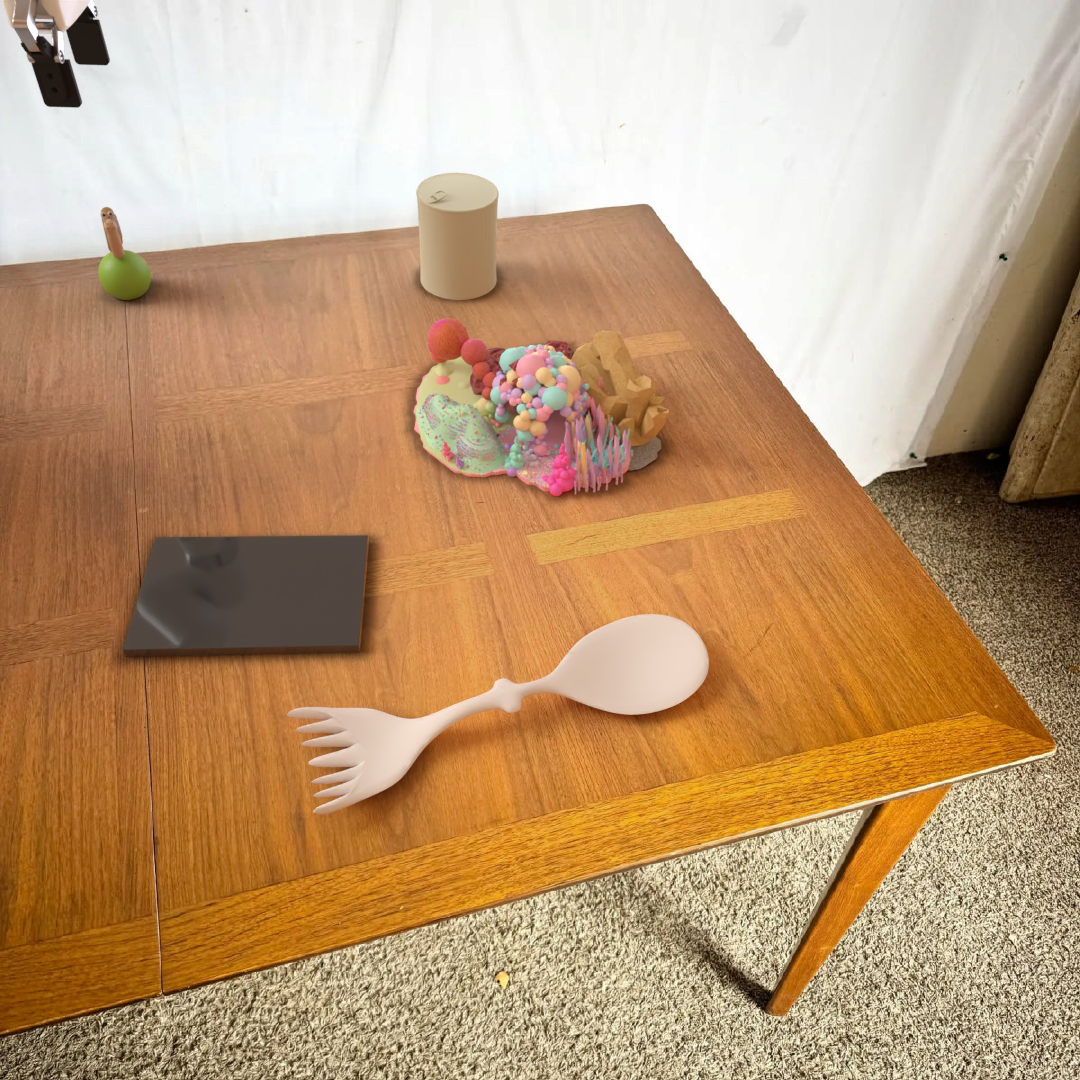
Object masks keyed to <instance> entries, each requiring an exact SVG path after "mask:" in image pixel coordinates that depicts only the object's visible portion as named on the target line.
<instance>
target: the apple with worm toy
mask: <svg viewBox="0 0 1080 1080" xmlns="http://www.w3.org/2000/svg"><path fill="white" fill-rule="evenodd" d="M100 218H101V223H102V226H103V232H104V236H105V239H106V244H107V249H108V250H109V253H107V254H106V255H105V256H104V257H102V259H101V260H100V262H99V265H98V269H97V274H98V275H97V276H98V280H99V283H100V285H101V286H102V288H103V289H104V290H105V292H106V293H108V294H109V295H110V296H111V297H113V298H115V299H119V300H123V301H132V300H136V299H138V298H141V297H142V296H143V295H145V294H146V292H147V291H148V290H149V288H150V286H151V282H152V274H151V273H152V272H151V269H150V266H149V265H148V262H146V260H145V259H144V258H143V257H142V256H140V255H139V254H138V253H137V252H134V251H131V250H129V249H128V250H127V249H124V246H123V243H124V240H123V233H122V230H121V227H120V223H119V220H118V217H117V215H116V214H115V211H114V210H113V208H111V207H109V206H104V207H102V208H101V210H100Z"/></svg>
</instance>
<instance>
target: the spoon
mask: <svg viewBox="0 0 1080 1080" xmlns="http://www.w3.org/2000/svg"><path fill="white" fill-rule="evenodd" d="M709 668H710V658H709V652H708V649H707V646H706V645H705V642H704V641H703V639H702V638H701V636H700V634H699V633H698V632H697V630H695V629H694V627H692V626H691V625H690V624H688V623H687V622H686V621H683V620H681V619H679V618H677V617H674V616H671V615H666V614H657V613H647V614H646V613H645V614H636V615H631V616H627V617H623V618H620V619H617V620H615V621H611V622H609V623H607V624H604V625H602V626H599V627H598V628H596V629H594V630H592V631H591V632H589V633H587V634H586V635H584V636H583V637H582V638H580V639H579V640H578V641H576V643H575V644H573V646H572V647H571V648H570V649H569V651H568V652H567V653H566V654H565V656H563V658H562V659H561V661H560V662H559V664H558V665H557V666H556V667H555V668H554V670H552V671H551V672H550V673H549V674H547V675H545V676H543V677H541V678H538V679H535V680H531V681H527V682H522V683H516V682H514V681H512V680H510V679H508V678H507V677H502V678H499V679H496V680H495V681H494V683H493V686H492V688H491V689H489V690H488V691H486V692H484V693H481V694H479V695H476V696H473V697H470V698H467V699H465V700H461V701H459V702H457V703H455V704H451V705H450V706H447V707H445V708H443V709H440V710H439V711H436V712H433V713H430V714H427V715H425V716H421V717H415V718H407V717H401V716H397V715H394V714H391V713H389V712H385V711H382V710H379V709H375V708H368V707H329V706H327V707H325V706H304V707H297V708H294V709H291V710H289V711H288V712H287V714H286V716H287V718H289V719H295V720H296V719H297V720H319V721H316V722H313V723H309V724H306V725H301V726H299V727H297V728H296V729H294V732H297V733H299V734H302V733H303V734H330V735H325V736H321V737H317V738H312V739H309V740H305V741H302V743H301V744H300V746H302V747H306V748H343V749H341V750H340V749H339V750H337V751H334V752H329V753H326V754H323V755H320V756H316V757H314V758H312V759H310V760H309V761H308V763H307V764H308V765H309V766H311V767H315V768H347V769H344V770H340V771H338V772H334V773H330V774H327V775H323V776H320V777H318V778H315V779H313V780H312V781H311V782H310V783H311V784H314V785H328V784H338V783H340V784H338V785H335V786H332V787H329V788H326V789H323V790H320V791H318V792H316V793H314V794H313V796H312V797H314V798H317V799H318V798H333V797H338V798H335V799H332V800H331V801H328V802H326V803H323V804H321V805H319V806H317V807H316V808H315V809H313V813H314V814H315V815H327V814H331V813H335V812H337V811H340V810H342V809H345V808H348V807H350V806H353V805H354V804H356V803H359V802H361V801H363V800H366V799H368V798H370V797H373V796H375V795H377V794H380V793H382V792H383V791H385V790H387V789H389V788H391V787H392V786H394V785H395V784H396V783H398V782H399V781H400V780H401V779H403V777H404V776H405V775H406V774H407V772H408V771H409V770H410V768H411V767H412V766H413V764H414V763H415V762H416V761H417V758H419V756H420V754H421V753H422V752H423V751H424V750H425V748H427V746H429V744H430V743H431V742H432V741H434V740H435V739H436V738H437V737H438V736H439V735H440V734H442V733H443V732H444V731H446V730H447V729H449V728H450V727H452V726H453V725H455V724H457V723H459V722H461V721H463V720H465V719H467V718H469V717H471V716H472V717H473V716H474V715H477V714H481V713H484V712H490V711H495V710H499V711H504V712H505V713H508V714H513V713H517V712H519V711H520V710H521V708H522V702H523V700H524V699H525V698H528V697H530V696H536V695H541V694H549V695H557V696H559V697H560V696H561V697H562V698H563V697H564V698H567V699H570V700H572V701H574V702H577V703H580V704H583V705H585V706H588V707H591V708H594V709H597V710H601V711H605V712H609V713H613V714H618V715H632V716H633V715H645V714H651V713H656V712H660V711H664V710H667V709H669V708H672V707H674V706H675V707H676V706H677V705H679V704H680V703H683V702H685V700H687V699H689V698H690V697H691V696H692V695H693V694H695V692H697V690H699V688H701V686H702V685H703V683H704V681H705V680H706V678H707V676H708V673H709Z"/></svg>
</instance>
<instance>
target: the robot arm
mask: <svg viewBox="0 0 1080 1080" xmlns="http://www.w3.org/2000/svg"><path fill="white" fill-rule="evenodd" d="M1 3H2V7H3V10H4V13H5V16H6V19H7V22H8V24H9V25H10V27H11V28H12V29H13V30H14V31H15V33H16V34H17V36H18V38H19V40H20V47H22V49H23V50H24V52H25V53H26V58H27V60H28V62H29V63H30V64H31V67H32V70H33V73H34V76H35V79H36V82H37V85H38V89H39V92H40V95H41V97H42V101H43V103H44V105H45V106H46V107H49V108H75V109H76V108H80V107H81V105H82V104H83V99H82V97H81V93H80V89H79V86H78V83H77V79H76V75H75V73H74V68H73V66H72V62H71V59H69V58H65V40H64V39H65V38H64V32H66V36H67V39H68V43H69V46H70V49H71V53H72V56H73V60H74V62H75V63H76V64H77V65H81V66H108V65H109V64H110V62H111V59H110V55H109V51H108V47H107V43H106V39H105V36H104V32H103V29H102V25H101V20H100V19H99V10H98V6H97V5H96V3H95V1H94V0H1ZM36 20H52V21H36ZM40 34H43V35H51V43H50V42H49V40H48V39H47V38H45V36H43V35H40Z"/></svg>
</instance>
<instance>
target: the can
mask: <svg viewBox="0 0 1080 1080" xmlns="http://www.w3.org/2000/svg"><path fill="white" fill-rule="evenodd" d="M415 193H416V195H415V196H416V202H417V216H418V217H417V218H418V238H419V262H420V263H419V264H420V265H419V266H420V283H421V286H422V287H423V289H424V290H425V291H427V292H428V293H429V294H431V295H434V296H436V297H439V298H442V299H445V300H451V301H452V300H454V301H466V300H473V299H476V298H480V297H482V296H486V295H487V294H489V293H490V292H491V291H492V290H493V289H494V288H495V286H496V285H497V239H498V237H497V236H498V205H499V203H498V202H499V189H498V187H497V185H496V184H495V183H494V182H492V181H491V180H489V179H487V178H485V177H482V176H480V175H477V174H473V173H466V172H446V173H445V172H444V173H440V174H435V175H432V176H429V177H427V178H425V179H424V180H422V181H421V182H420V183H419V184H418V185H417V188H416V190H415Z"/></svg>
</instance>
